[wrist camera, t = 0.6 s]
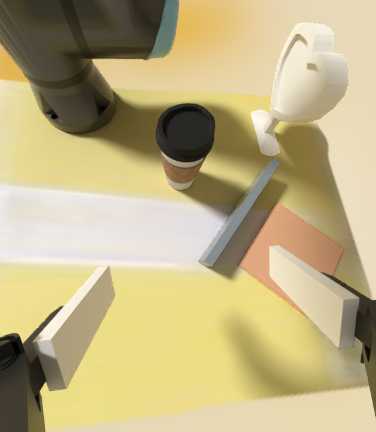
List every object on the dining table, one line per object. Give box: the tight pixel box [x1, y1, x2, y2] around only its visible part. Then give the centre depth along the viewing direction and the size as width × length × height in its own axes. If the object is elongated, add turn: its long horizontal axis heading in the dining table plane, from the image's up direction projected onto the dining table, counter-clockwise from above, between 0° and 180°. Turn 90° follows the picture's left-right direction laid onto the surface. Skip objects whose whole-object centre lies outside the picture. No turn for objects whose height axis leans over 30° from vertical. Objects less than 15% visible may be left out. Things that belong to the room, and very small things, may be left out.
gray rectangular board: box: [198, 158, 280, 267], centre depth 34 cm, size 2×24×6 cm, turn 144°
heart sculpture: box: [251, 22, 348, 156], centre depth 35 cm, size 16×5×18 cm, turn 7°
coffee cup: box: [156, 103, 215, 190], centre depth 31 cm, size 8×8×15 cm
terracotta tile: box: [238, 203, 344, 319], centre depth 35 cm, size 16×16×1 cm
